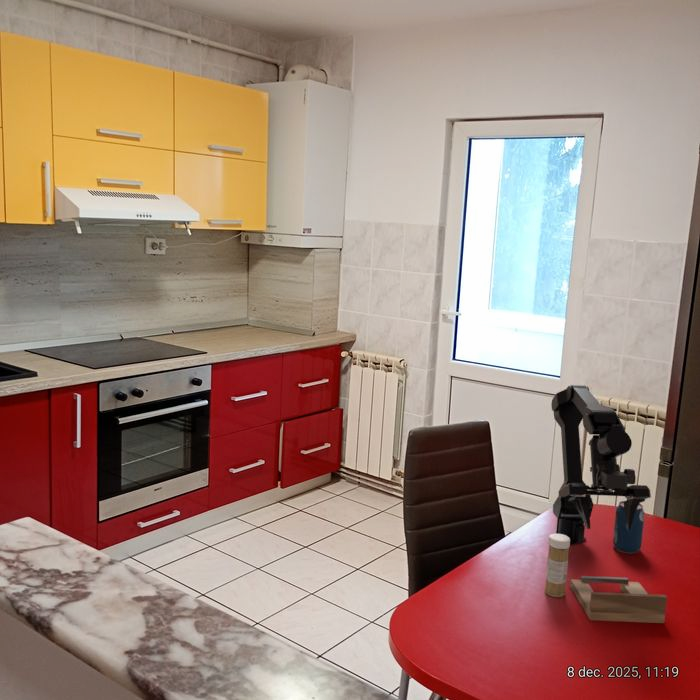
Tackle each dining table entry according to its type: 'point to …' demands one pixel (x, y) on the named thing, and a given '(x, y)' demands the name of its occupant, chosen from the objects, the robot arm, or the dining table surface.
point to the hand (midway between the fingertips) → (608, 529)
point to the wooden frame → (619, 601)
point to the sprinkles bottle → (557, 565)
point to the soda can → (628, 539)
